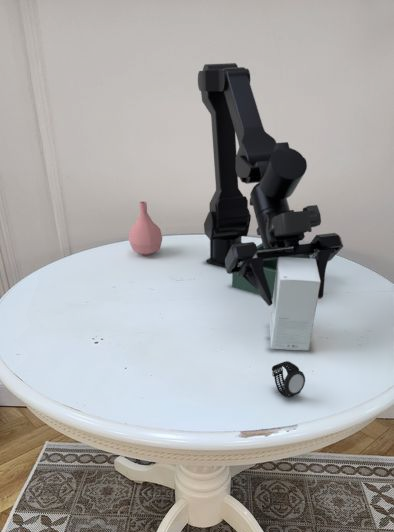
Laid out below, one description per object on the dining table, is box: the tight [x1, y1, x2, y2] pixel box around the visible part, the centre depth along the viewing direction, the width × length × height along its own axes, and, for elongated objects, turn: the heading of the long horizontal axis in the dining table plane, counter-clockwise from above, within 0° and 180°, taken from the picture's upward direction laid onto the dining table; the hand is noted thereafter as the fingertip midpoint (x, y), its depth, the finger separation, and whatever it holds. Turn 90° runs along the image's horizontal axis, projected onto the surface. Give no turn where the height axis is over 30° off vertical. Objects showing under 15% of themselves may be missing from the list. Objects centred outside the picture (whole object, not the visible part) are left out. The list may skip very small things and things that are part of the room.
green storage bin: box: [231, 242, 307, 299], centre depth 108 cm, size 14×13×6 cm
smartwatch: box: [271, 360, 306, 399], centre depth 77 cm, size 4×5×5 cm
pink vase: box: [128, 201, 163, 256], centre depth 121 cm, size 8×8×12 cm
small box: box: [269, 257, 321, 352], centre depth 87 cm, size 8×6×13 cm
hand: (295, 301), depth 85 cm, fingers closed on small box, 8 cm apart
